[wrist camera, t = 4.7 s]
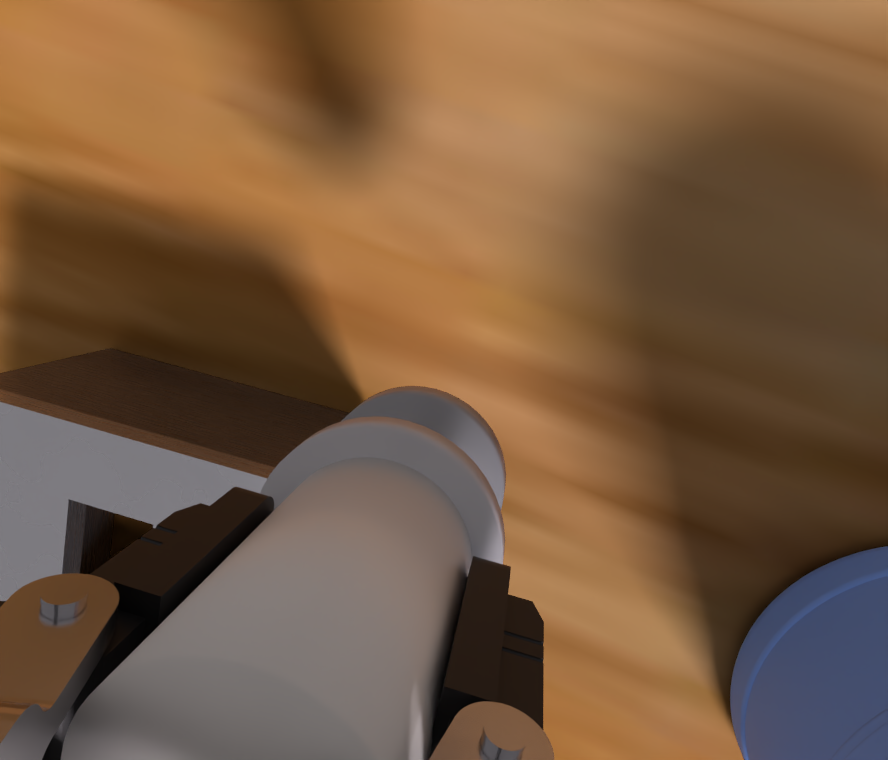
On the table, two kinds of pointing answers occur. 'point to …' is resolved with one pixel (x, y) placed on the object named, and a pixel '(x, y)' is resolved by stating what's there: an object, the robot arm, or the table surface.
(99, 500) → the keyhole stand
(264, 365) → the table surface
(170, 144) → the table surface
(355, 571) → the peg
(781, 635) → the water jug
